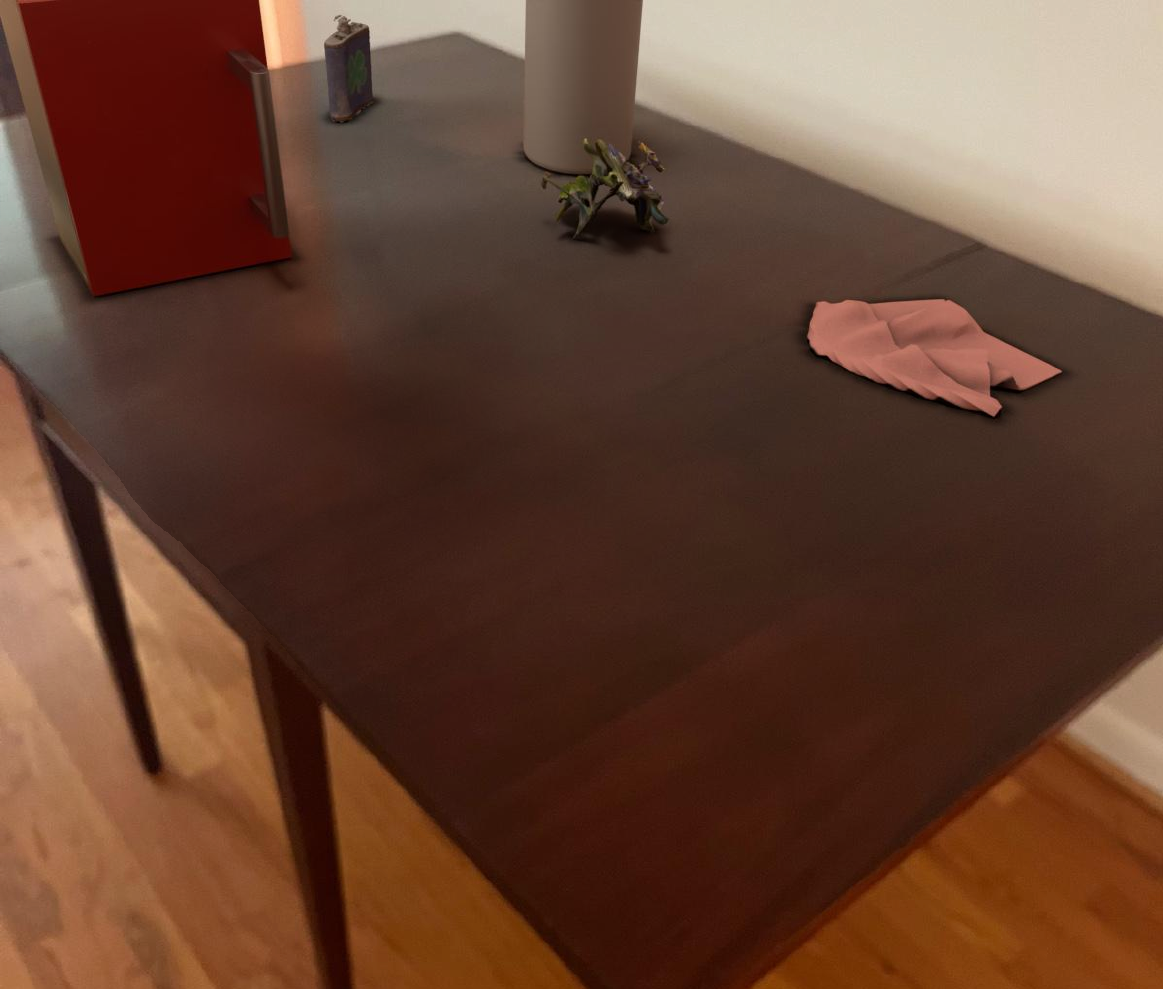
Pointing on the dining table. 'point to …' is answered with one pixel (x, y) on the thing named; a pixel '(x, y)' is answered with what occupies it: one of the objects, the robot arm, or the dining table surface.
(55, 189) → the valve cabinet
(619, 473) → the dining table surface
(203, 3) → the valve door
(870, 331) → the cloth
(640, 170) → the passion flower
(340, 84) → the flask
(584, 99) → the cylinder vase
